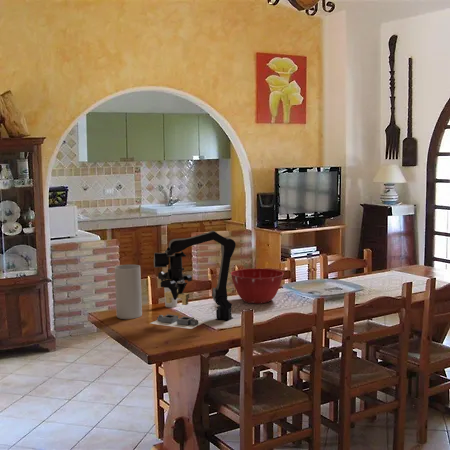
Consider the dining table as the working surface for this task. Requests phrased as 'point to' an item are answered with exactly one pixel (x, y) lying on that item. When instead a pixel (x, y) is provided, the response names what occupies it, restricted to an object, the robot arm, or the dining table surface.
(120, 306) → the cylinder vase
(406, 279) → the dining table surface
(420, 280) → the dining table surface
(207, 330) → the dining table surface
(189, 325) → the mat
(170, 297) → the master link
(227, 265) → the robot arm
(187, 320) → the chain ends
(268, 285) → the mixing bowl
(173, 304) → the mug
